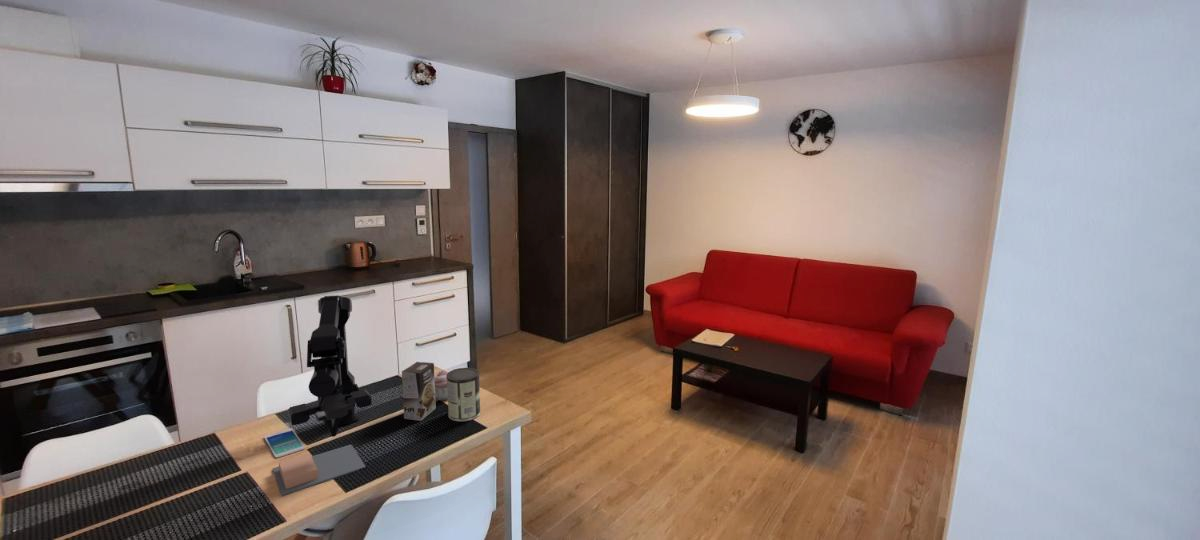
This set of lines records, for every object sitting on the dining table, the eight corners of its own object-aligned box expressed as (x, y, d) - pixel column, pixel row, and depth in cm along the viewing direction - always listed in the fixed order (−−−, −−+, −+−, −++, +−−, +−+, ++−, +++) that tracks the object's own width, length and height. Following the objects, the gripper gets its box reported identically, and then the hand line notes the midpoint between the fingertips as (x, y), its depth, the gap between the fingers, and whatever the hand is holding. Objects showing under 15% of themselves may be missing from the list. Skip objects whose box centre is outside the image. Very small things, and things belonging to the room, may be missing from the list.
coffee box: (421, 421, 156) (419, 373, 153) (403, 419, 157) (400, 371, 154) (436, 408, 165) (434, 362, 162) (419, 406, 166) (416, 360, 163)
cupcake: (442, 405, 167) (441, 377, 165) (424, 398, 172) (423, 370, 170) (463, 395, 175) (462, 368, 173) (445, 388, 180) (444, 362, 178)
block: (310, 460, 133) (279, 470, 128) (309, 452, 132) (278, 461, 128) (318, 478, 125) (286, 489, 121) (317, 469, 125) (285, 479, 121)
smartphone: (275, 457, 134) (263, 436, 145) (275, 460, 134) (263, 438, 145) (306, 447, 139) (292, 427, 150) (306, 450, 139) (292, 430, 150)
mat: (272, 469, 129) (272, 468, 129) (351, 445, 141) (351, 444, 141) (281, 496, 119) (281, 494, 119) (365, 467, 131) (365, 466, 131)
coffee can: (465, 404, 168) (464, 364, 166) (487, 412, 163) (486, 371, 160) (441, 416, 160) (439, 374, 157) (463, 425, 154) (461, 382, 152)
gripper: (292, 401, 116) (298, 462, 119) (376, 382, 128) (379, 437, 131) (284, 386, 125) (290, 442, 128) (363, 368, 136) (367, 421, 139)
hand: (333, 436), depth 131 cm, fingers closed
